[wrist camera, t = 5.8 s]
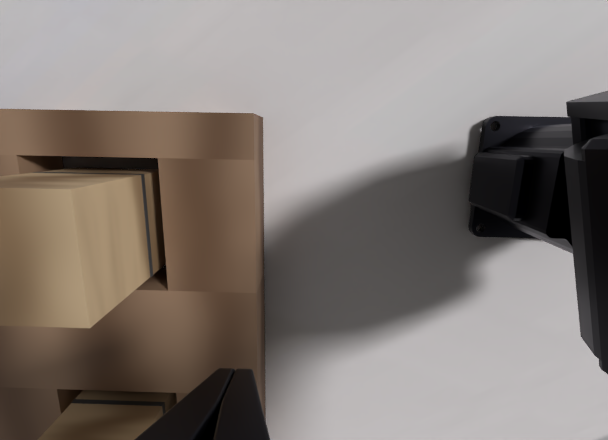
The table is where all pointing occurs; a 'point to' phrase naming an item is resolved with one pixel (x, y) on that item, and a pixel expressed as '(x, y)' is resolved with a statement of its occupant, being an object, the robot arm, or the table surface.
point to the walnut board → (126, 257)
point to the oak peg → (109, 415)
